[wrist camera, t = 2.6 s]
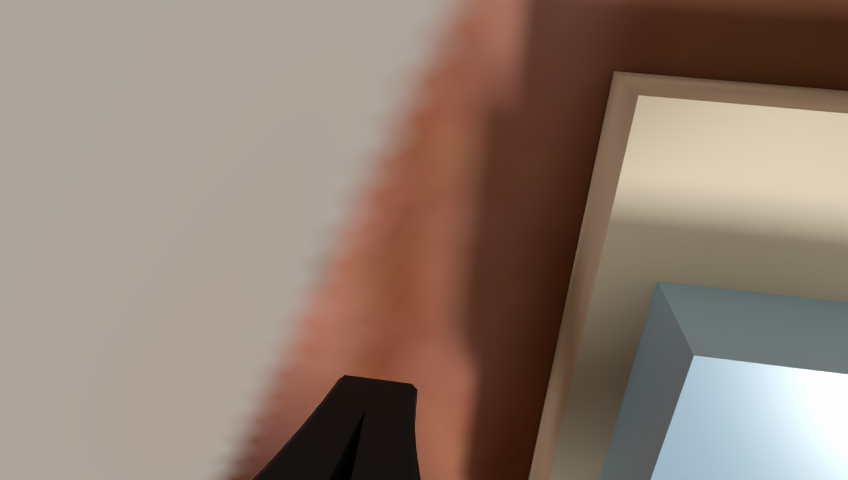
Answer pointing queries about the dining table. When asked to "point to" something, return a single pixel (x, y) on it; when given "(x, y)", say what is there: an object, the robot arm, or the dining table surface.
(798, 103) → the beige flat square slab
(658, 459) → the light blue block
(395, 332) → the dining table surface
